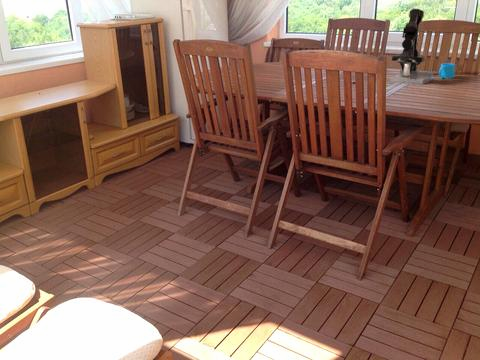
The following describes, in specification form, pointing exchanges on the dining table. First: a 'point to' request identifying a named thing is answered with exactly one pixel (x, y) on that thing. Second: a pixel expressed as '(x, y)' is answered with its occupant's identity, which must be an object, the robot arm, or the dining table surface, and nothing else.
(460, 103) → the dining table surface
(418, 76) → the jig
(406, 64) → the cream domed knob
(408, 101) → the dining table surface
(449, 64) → the mug
